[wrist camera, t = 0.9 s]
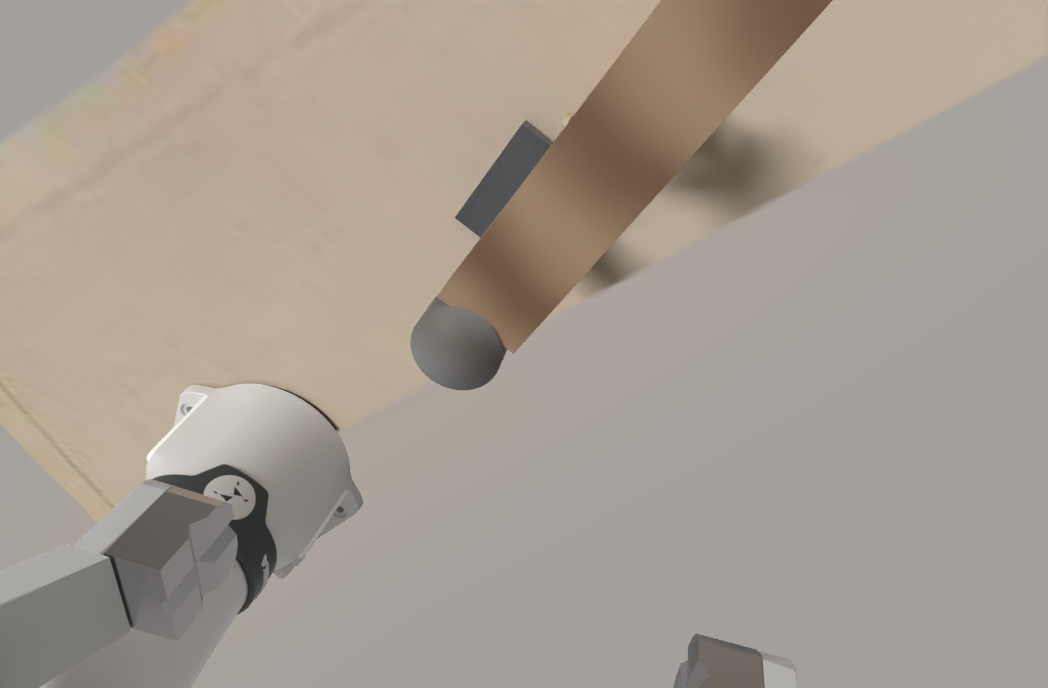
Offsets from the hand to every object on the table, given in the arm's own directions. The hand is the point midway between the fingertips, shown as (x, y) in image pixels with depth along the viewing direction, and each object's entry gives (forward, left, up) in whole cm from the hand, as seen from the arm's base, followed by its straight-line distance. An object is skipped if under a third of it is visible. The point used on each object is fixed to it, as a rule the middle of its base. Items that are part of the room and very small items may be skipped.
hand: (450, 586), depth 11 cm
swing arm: (+1, +1, -19) cm, 19 cm away
